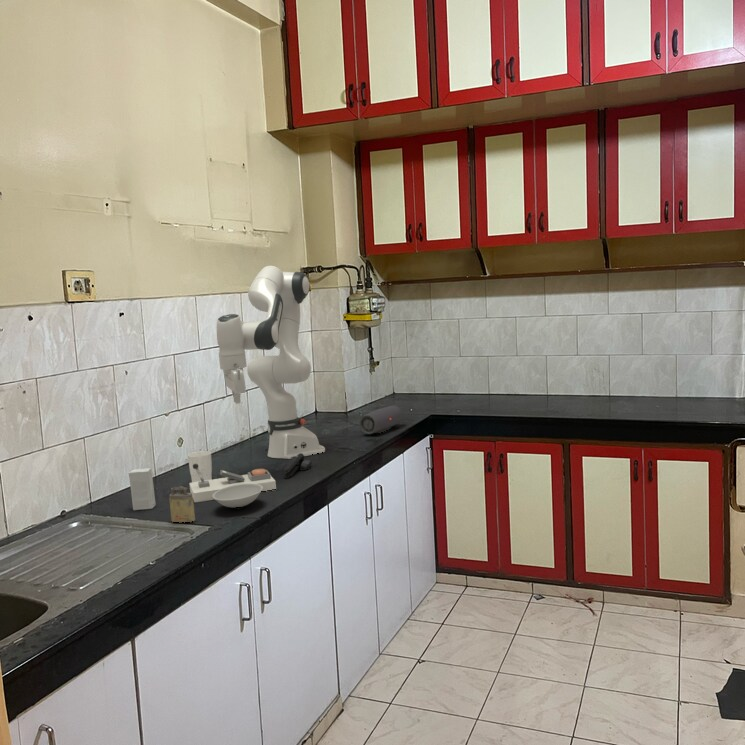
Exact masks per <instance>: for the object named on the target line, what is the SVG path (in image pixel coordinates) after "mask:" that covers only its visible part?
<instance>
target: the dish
mask: <svg viewBox="0 0 745 745" xmlns="http://www.w3.org/2000/svg"><path fill="white" fill-rule="evenodd" d="M262 490H263V486H262V485H259V484H238V485H233V486H229V487H225V488H222V489H220V490H218V491H216V492H215V493H214V494H213V495H212V498H213V499H214V500H215V502H218V504H220V505H222V506H224V507H226V508H232V509H234V508H236V507H242V508H243V507H246V506H248V505H250V504H251V503H253V502H254V501H255V500H256V499H257V498H258V497H259V495H260V493H262V492H261V491H262Z"/></svg>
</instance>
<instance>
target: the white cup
mask: <svg viewBox="0 0 745 745" xmlns="http://www.w3.org/2000/svg"><path fill="white" fill-rule="evenodd" d="M187 460H188V466H189V467H188V468H189V474H190V477H191V483H192V482H199V481H201V480H200V478H199V476H198V474H197V472H196V470H195V469H194V468H193V464H198V468H199V470H200V472H201V474H202V476H203V478H204V481H206V480H213V479H212V478H213V477H212V473H213V472H212V470H213V467H212V466H213V465H212V452H211V451H210V450H209V451H207V450H200V451H194V452H190V453H188V454H187Z"/></svg>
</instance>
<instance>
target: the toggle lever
mask: <svg viewBox="0 0 745 745" xmlns="http://www.w3.org/2000/svg"><path fill="white" fill-rule="evenodd" d="M193 468H194V469H195V470H196V472H197V474H198V476H199V478H200V480H201V481H202V482H204V478H203V476H202V474H201V472H200V470H199V468H198V464H193Z"/></svg>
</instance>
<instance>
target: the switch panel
mask: <svg viewBox="0 0 745 745" xmlns="http://www.w3.org/2000/svg"><path fill="white" fill-rule="evenodd" d="M265 471H266V474H263V475H256V476H252V471H249V472H247V474H242V475H241V476H243V477H244V479H245V480H244V482H242V481H239V480H235V479H231V478H228V477H221V478H220V477H219V478H214V479H212V480H206V481H204V482H202V481H199V482H192V481H191V482H189V491H190V492H189V493H192V497H193V503H201V502H207V501H213V500H215V499H213V498H212V495H213V494H214V493H215V492H216V491H218V490H220V489H222V488H225V487H229V486H233V485H238V484H259V485H262V486H263V490H262V491H266V492H268V491H267V490H272V489H276V490H277V484H276V483H277V482H276V479H275V478H274V477H273V476H272V475H271V473H270V472H269V470H268V469H265ZM272 491H273V490H272Z"/></svg>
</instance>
